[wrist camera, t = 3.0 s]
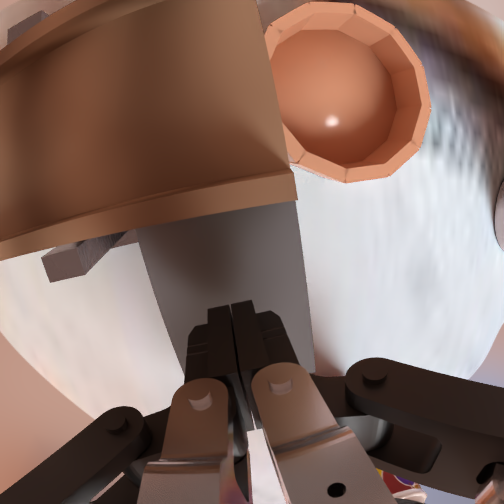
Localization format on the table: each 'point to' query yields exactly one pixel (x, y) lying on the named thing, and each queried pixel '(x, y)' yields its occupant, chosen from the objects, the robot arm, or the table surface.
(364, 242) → the table surface
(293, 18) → the orange bowl
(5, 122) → the lever
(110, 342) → the table surface
